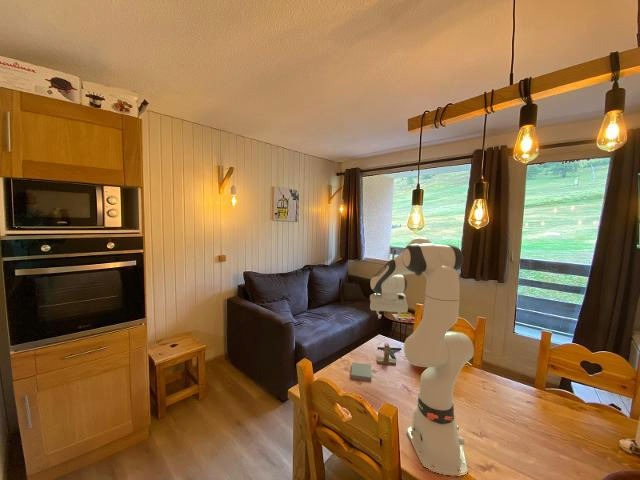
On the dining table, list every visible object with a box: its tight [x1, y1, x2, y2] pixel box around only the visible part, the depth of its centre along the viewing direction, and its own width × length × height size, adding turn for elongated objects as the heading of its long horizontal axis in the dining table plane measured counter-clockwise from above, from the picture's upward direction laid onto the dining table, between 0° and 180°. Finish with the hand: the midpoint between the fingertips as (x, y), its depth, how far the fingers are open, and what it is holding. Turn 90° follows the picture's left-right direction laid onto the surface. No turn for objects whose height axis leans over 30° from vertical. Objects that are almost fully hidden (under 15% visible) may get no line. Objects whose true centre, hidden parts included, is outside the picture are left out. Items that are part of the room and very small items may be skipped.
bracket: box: [377, 346, 402, 362], centre depth 157 cm, size 14×15×3 cm
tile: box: [350, 362, 372, 382], centre depth 137 cm, size 2×10×12 cm
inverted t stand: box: [376, 342, 397, 366], centre depth 148 cm, size 4×10×10 cm, turn 82°
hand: (388, 318), depth 146 cm, fingers open, 8 cm apart
